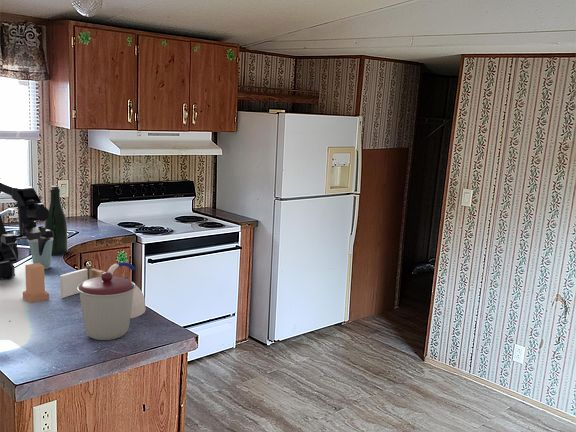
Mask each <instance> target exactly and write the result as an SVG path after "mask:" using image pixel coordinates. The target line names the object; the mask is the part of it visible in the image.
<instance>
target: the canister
mask: <svg viewBox="0 0 576 432" xmlns="http://www.w3.org/2000/svg"><path fill="white" fill-rule="evenodd" d="M126 278H127V277H123V276H115V275H114V274H113V275H112V274H111V273H110V272H108V271H104V273H103V274H102V275H101V277H96V278H91V279H88V280H86V281H84V282H83V283H81V284H79V285H78V287H77V290H78V292H79V293H78V294H79V299H80V307H81V315H82V322H83V326H84V331H85V333H86V335H87V336H88V337H89V338H91V339H94V340H97V341H98V340H99V341H111V340H115V339H116V340H117V339H118V338H121V337H123V336H124V335H126V334H127V332H128V330H129V328H130V323H131V322H130V321H131V319H130V317H131V309H132V301H133V292H134V289H135V288H136V286H137V284H136V283H135V282H134V281H131V280H130V279H129V278H128V279H126Z"/></svg>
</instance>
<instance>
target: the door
mask: <svg viewBox="0 0 576 432" xmlns="http://www.w3.org/2000/svg"><path fill="white" fill-rule="evenodd" d="M86 280H88V269H87V268H82V269H79V270H75V271H70V272H67V273H64V274H60V275H59V286H60V287H59V288H60V298H68V297H70V296H73V295H76V294H80V293H79V292H78V290H77V287H78V285H79V284H81V283H83V282H84V281H86Z"/></svg>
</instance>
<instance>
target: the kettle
mask: <svg viewBox="0 0 576 432" xmlns="http://www.w3.org/2000/svg"><path fill="white" fill-rule="evenodd" d="M118 267H127V268H129V270H131V271H134V270H136V267H135V266H134V265H132V264H131V263H129V262H125V261H124V262H123V261H121V262H116V263H114V264H112V265H111V266H110V267H109V268H108V270H107V272H110V273H111V274H112V275H113V276H114V273H115V271H116V269H118ZM125 278H126V279H128V280H129V278H128V277H125ZM145 300H146V299H145V295H144V294H143V292H142V290H141V289H140V288H139V286H137V285H136V288H135V289H134V292H133V301H132V309H131V317H130V320H131V319H134V318H138V317H140V316H141V315H143V314H145V312H146V311H147V308H146V301H145Z"/></svg>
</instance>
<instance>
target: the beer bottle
mask: <svg viewBox="0 0 576 432" xmlns="http://www.w3.org/2000/svg"><path fill="white" fill-rule="evenodd" d="M59 187H60V186H59V185H51V187H50V189H49V192H50V194H49V195H50V197H49V199H50V200H49V207H48V208H47V209H48V211H49V217H48V218H47V220H45V221H44V226H45V229H48V230H52V231H53V234H54V237H53V239H54V240H53V244H52V254H51V256H60V255H61V256H62V255H64V254H67V253H68V251H69V245H68V243H69V241H68V223H67V217H66V215H65V212H64V209H63V208H62V203H61V202H62V201H61V190H60V188H59Z"/></svg>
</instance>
